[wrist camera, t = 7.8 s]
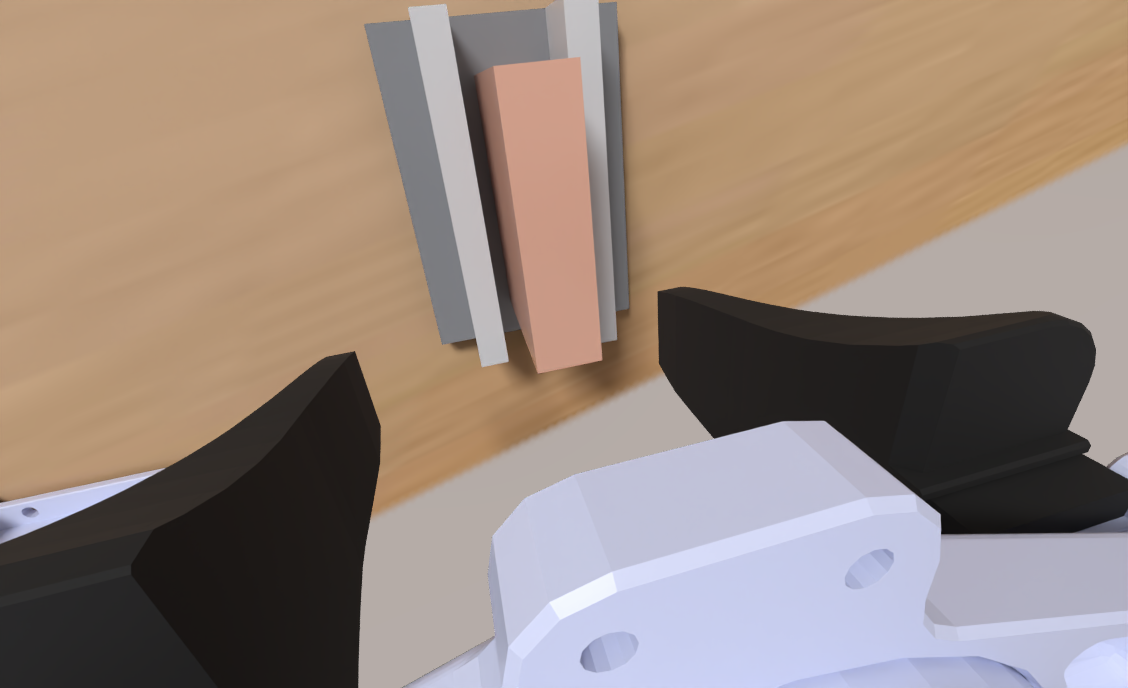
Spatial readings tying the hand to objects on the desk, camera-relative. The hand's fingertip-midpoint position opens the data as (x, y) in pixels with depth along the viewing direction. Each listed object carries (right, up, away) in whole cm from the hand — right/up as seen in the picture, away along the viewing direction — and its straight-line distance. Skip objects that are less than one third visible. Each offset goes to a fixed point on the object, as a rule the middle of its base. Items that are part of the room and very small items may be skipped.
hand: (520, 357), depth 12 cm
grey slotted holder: (-1, +6, +7) cm, 10 cm away
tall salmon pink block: (-1, +6, +6) cm, 9 cm away
